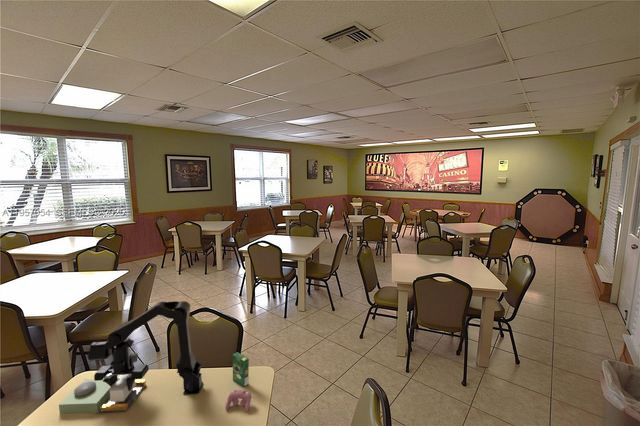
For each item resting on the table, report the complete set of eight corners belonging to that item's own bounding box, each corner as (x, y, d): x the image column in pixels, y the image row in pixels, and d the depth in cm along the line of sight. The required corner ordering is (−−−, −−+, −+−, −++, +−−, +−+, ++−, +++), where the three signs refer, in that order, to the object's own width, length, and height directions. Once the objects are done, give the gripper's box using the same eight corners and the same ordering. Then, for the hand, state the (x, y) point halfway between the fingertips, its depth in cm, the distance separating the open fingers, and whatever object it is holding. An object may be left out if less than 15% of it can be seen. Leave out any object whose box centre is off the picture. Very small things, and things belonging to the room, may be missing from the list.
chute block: (135, 385, 125) (134, 372, 125) (123, 401, 117) (122, 387, 116) (123, 385, 125) (122, 373, 124) (110, 401, 116) (109, 388, 115)
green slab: (119, 386, 128) (118, 375, 127) (97, 412, 114) (96, 399, 113) (85, 387, 126) (84, 376, 126) (59, 413, 113) (58, 401, 112)
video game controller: (251, 409, 119) (253, 389, 121) (247, 412, 114) (250, 392, 117) (228, 407, 120) (230, 387, 122) (223, 410, 115) (226, 390, 118)
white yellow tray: (145, 384, 129) (145, 379, 129) (125, 412, 114) (125, 406, 114) (122, 385, 128) (121, 380, 128) (99, 413, 113) (98, 407, 113)
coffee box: (249, 384, 131) (249, 357, 129) (244, 388, 128) (244, 360, 126) (237, 377, 135) (236, 351, 133) (232, 380, 133) (231, 354, 131)
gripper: (154, 344, 127) (156, 376, 129) (109, 345, 126) (112, 377, 128) (140, 360, 116) (142, 395, 118) (91, 361, 115) (94, 397, 117)
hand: (123, 390), depth 121 cm, fingers closed on chute block, 5 cm apart
